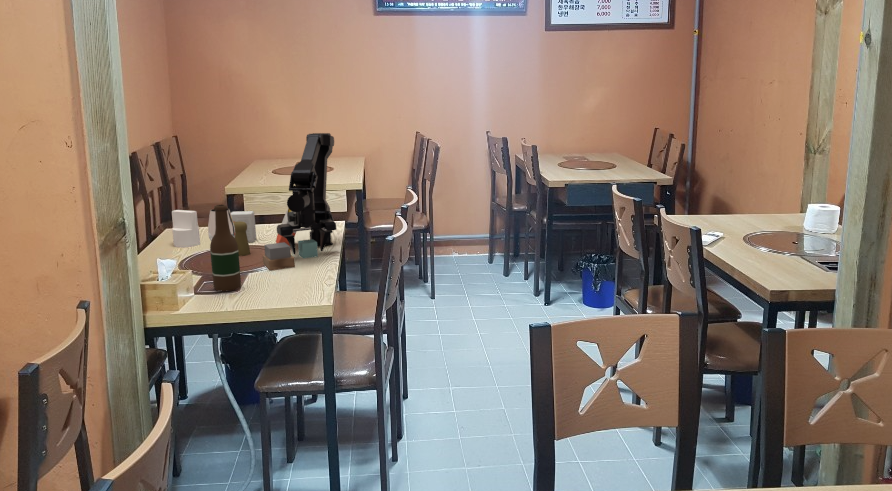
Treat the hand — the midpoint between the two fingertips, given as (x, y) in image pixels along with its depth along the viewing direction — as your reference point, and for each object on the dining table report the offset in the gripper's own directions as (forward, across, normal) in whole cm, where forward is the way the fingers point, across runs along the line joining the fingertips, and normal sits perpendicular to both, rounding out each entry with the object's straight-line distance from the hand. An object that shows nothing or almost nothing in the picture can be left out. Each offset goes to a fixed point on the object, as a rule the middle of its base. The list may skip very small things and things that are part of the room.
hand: (308, 252), depth 254 cm
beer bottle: (+1, +31, +25) cm, 40 cm away
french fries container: (0, +5, -16) cm, 17 cm away
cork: (+1, +19, -14) cm, 24 cm away
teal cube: (+1, 0, 0) cm, 1 cm away
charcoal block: (-2, +12, +8) cm, 15 cm away
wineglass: (+1, +29, +10) cm, 31 cm away
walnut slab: (+1, +12, +8) cm, 14 cm away
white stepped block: (+1, +33, -38) cm, 50 cm away
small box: (+1, +14, -33) cm, 36 cm away
